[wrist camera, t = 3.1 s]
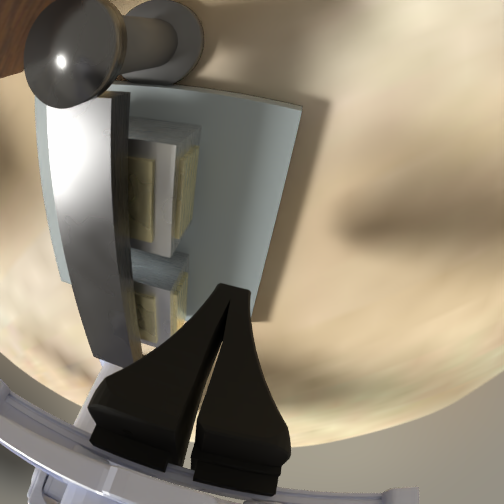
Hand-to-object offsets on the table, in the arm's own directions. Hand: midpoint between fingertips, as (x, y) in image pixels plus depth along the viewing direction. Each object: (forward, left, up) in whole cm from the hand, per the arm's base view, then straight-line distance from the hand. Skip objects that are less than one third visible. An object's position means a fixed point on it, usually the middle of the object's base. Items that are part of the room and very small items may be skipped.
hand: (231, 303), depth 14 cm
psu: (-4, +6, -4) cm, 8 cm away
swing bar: (+2, +6, 0) cm, 6 cm away
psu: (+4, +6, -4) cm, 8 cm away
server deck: (+3, +6, -5) cm, 8 cm away
